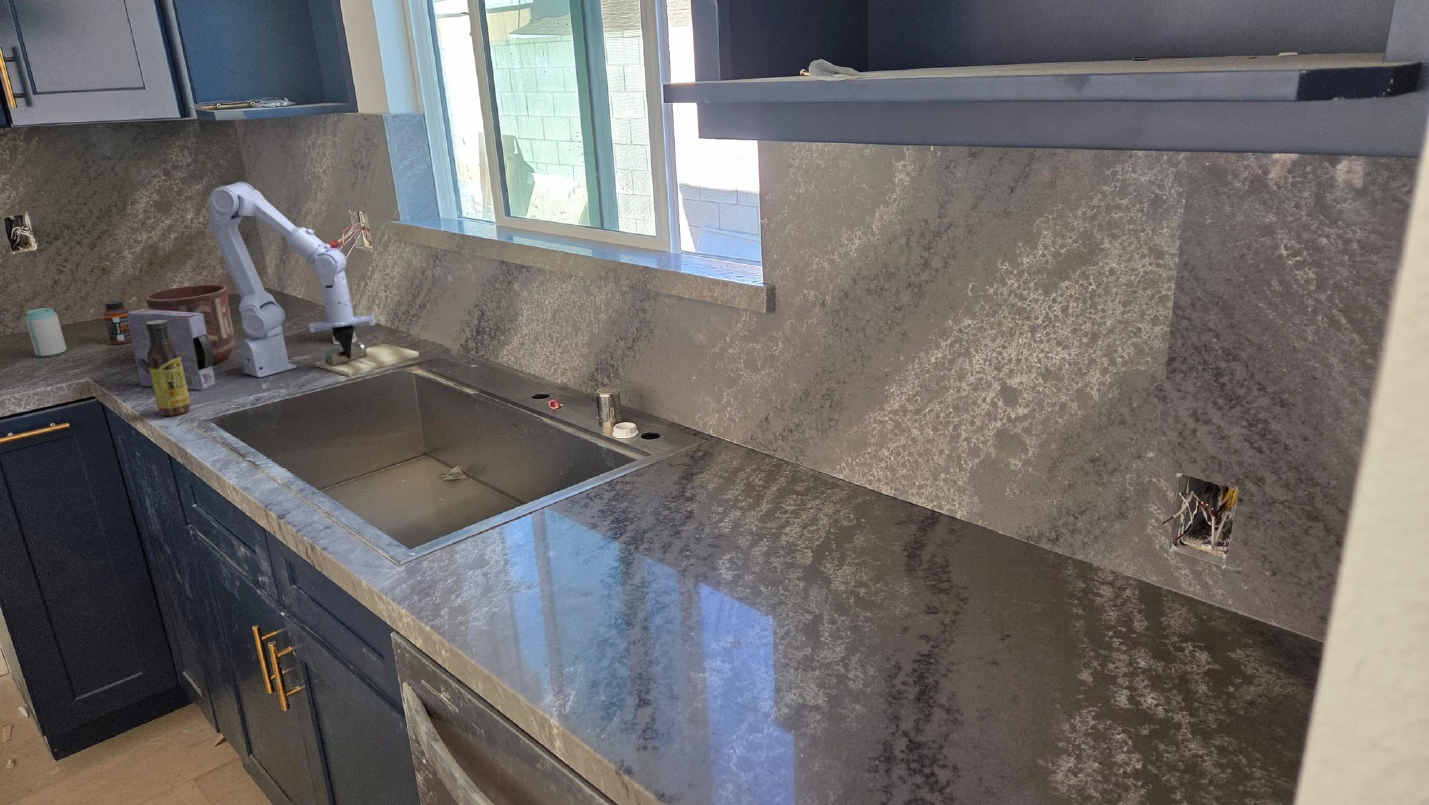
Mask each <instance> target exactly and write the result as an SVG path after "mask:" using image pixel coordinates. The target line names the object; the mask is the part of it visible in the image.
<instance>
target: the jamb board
mask: <svg viewBox="0 0 1429 805" xmlns="http://www.w3.org/2000/svg"><path fill="white" fill-rule="evenodd" d="M341 349H343V348H342V346H340V347H337V348H332V349H329V350H325V351H323V355H324V359H323V360H320V361H316V362H314V364H315V367H316V366H317V367H316V368H319V367H320V368H319V369H322V368H325V369H324V370H326V369H328V370H327V371H329V370H330V371H329V372H333V371H334V372H333V373H337V374H340V375H343V374H344V376H347V377H352V376H356V375H360V374H363V373H366V372H369V371H373V370H376V369H380V368H382V367H387V366H389V365H392V364H396V363H399V362H403V361H407V360H409V359H414V358H416V357H419V355H420V354H419V351H415V350H412V349H407V348H403V347H400V346H399V347H398V346H395V345H391V344H387V343H381V344H377V345H374V346H370V347H366V351H367V356H366V357H362V358H358V359H355V360H352V361H348V362H345V363H342V364H339V365H335V366H332V365H329V363H328V358H327V353H330V352H334V351H337V350H341Z"/></svg>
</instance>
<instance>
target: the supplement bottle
mask: <svg viewBox="0 0 1429 805" xmlns="http://www.w3.org/2000/svg"><path fill="white" fill-rule="evenodd" d="M104 304H105V305H104V306H105V308H106V309H105V311H104V312H103V316H104V317H103V318H104V322H105V325H106V330H107V333H108V334H107V335H108V337H109V341H110V344H112V345H124V344H125V345H126V344H129V343H133V342H132V337H131V332H130V327H129V322H128V317H127V313H128V312H129V309H128V308H126V307H124V304H123V301H122V300H110V301H107V302H105V303H104Z"/></svg>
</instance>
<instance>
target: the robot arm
mask: <svg viewBox="0 0 1429 805" xmlns="http://www.w3.org/2000/svg"><path fill="white" fill-rule="evenodd" d="M206 202H207V206H208V208H209V215H208V216H209V217H208V218H209V219H208V226H209V228H210V231H211V234H212V236H213V238H214V240H215V242H216V244H217V246H218V250H219V252H220V253H221V256H222V258H223V260H224V263H225V265H226V267H227V269H228V272H229V274H230V276H231V278H232V281H233V283H234V285H235V287H236V289H237V292H238V294H239V297H240V299H241V300H240V303H239V307H238V311H239V314H240V316H241V318H240V320H241V322H240V324H241V327H242V329H243V331H244V332H245V333H246V335H248V336H249V337H247V338H245V339H242V340H241V341H240V344H239V345H240V346H239V348H240V354H241V358H242V363H243V367H244V370H243V373H245V374H248V375H250V376H253V377H257V378H264V377H266V376H271V375H274V374H278V373H281V372H284V371H289V370H293V369H296V368H297V364H292V363H289V357H288V353H287V348H286V347H287V346H286V343H285V342H286V341H285V338H284V332H283V328H282V325H283V324H284V322H285V319H286V318H285V317H286V315H285V312H284V309H283V308H282V307H281V306H280V305H279V304H278V303H277V302H276V300H275V298H274V296H273V295H272V294H271V293H269V292H268V291H266V290H265V288H264V286H263V283H262V281H261V278H260V276H259V273H258V272H257V270H256V267H255V265H254V263H253V260H252V259H251V255H250V254H249V251H248V249H247V246H246V244H245V242H244V239H243V237H242V235H241V233H240V231H239V224H240V223H241V221H242V218H243V217H245V216H246V217H255V218H257V219H259V220H260V221H261V222H263V223H264V224H266V225H267V226H269V227H270V228H271V229H272V230H274V231H275V232H277V233H278V234H280V235H281V236H283V237H284V238H285V239H286V243H287V247H289V249H291V250H292V251H293V252H295V253H296V254H297V255H299V256H300V257H301V258H302V259H304V260H305V261H306V262H307V263H308V264H310V265H312V266H311V269H312V270H313V272H314V274H315V275H316V276H317V277H318V278H319V280H320V281H319V283H320V287H321V291H322V298H323V297H324V301H323V303H324V302H325V306H324V308H325V307H326V310H325V312H326V311H327V313H326V315H327V319H325V320H321V321H314V322H310V323H309V324H308V327H309V332H310V333H315V332H319V331H331V330H333V331H331V332H332V333H331V334H332V337H333V336H334V337H335V338H336V339H337V341H338V342H339V343H340V344H339V346H340V347H341V348H343V350H344V352H345V354H346V357H347V359H348V358H351V346H352V343H353V342H352V338H353V333H354V332H355V328H356V327H363V326H374V325H375V324H376V320H375V315H362V316H361V315H360V316H355V315H354V310H353V311H352V306H351V301H350V295H349V290H348V286H347V283H348V281H347V277H346V272H345V269H346V267H347V263H348V260H347V257H346V256H345V254H344V253H343V252H342V251H341V249H339V248H335V247H331V245H330V244H328V243H325V242H323V241H322V240H321V239H320V238H318V237H317V236H316V235H315V234H314V233H315V231H314V230H312V229H311V228H306V227H304V226H303V227H297V226H295V225H294V224H293V223H292V222H291V221H290V220H289V219H288V218H287V217H286V216H284V215H283V214H282V213H281V212H280V211H279V210H278V209H276V208H275V206H273V205H272V204H271V203H270V202H268V201H267V199H265V197H264V195H262V193H261V192H260V191H259V190H257V189H254V187H253V186H252V185H250V184H249V183H247V182H244V181H237V182H236V181H235V182H234V183H232V184H227V185H224V186H217V187H216V188H214V189H213V190H212V191H211V193H210V195H209V196H208V197H207V200H206Z"/></svg>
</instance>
